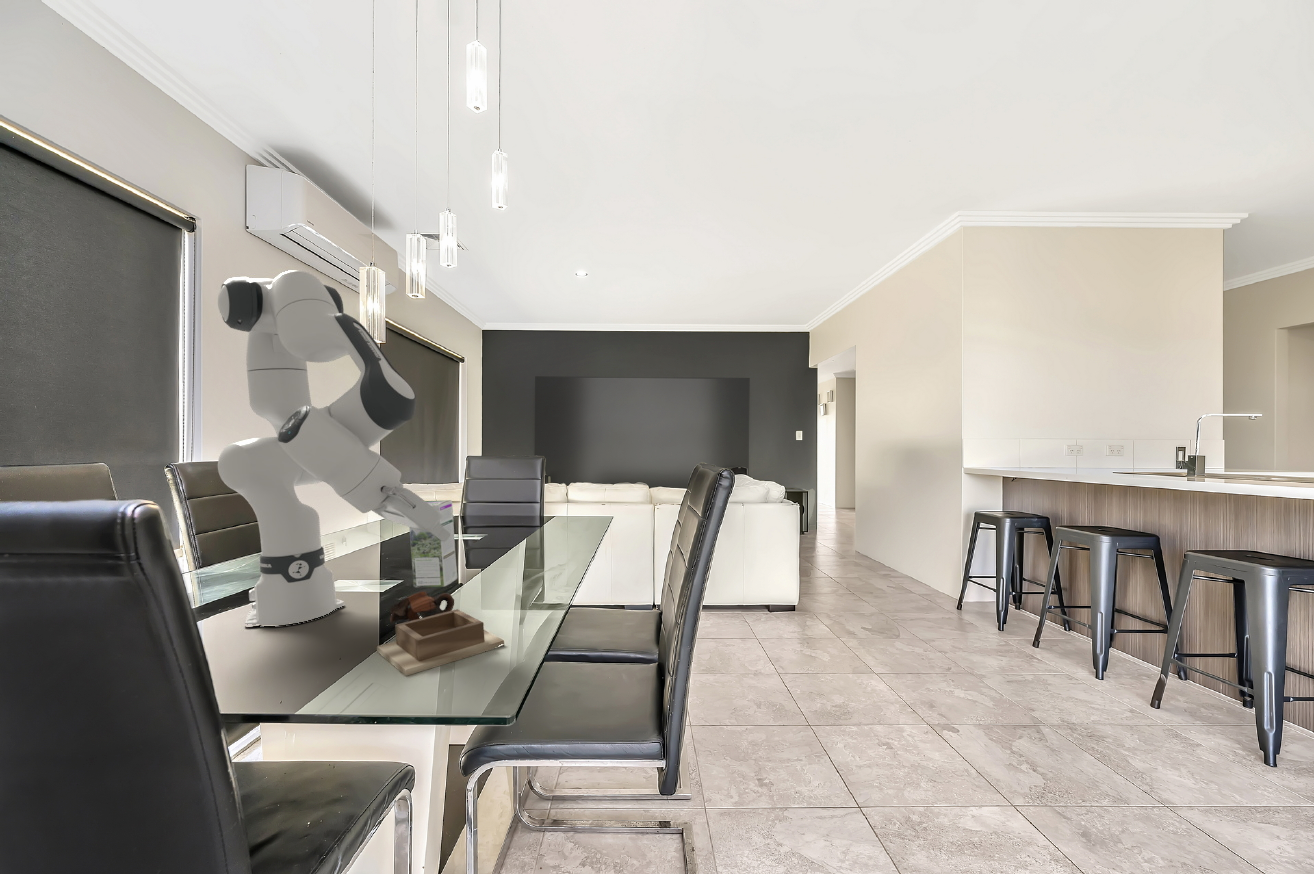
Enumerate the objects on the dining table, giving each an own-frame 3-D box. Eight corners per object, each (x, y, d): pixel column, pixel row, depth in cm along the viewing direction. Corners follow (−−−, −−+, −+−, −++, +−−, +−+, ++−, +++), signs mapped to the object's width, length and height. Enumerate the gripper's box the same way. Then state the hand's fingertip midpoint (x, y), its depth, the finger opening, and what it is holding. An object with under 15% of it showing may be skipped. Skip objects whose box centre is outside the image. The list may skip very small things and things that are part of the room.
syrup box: (458, 578, 111) (453, 498, 110) (444, 587, 105) (438, 503, 104) (428, 579, 111) (422, 500, 111) (412, 588, 105) (406, 504, 105)
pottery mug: (404, 645, 113) (386, 605, 115) (400, 653, 120) (383, 615, 122) (465, 614, 120) (447, 576, 121) (458, 623, 127) (441, 588, 129)
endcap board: (377, 651, 109) (375, 626, 109) (469, 626, 120) (467, 603, 120) (405, 676, 97) (403, 648, 97) (504, 645, 108) (502, 620, 108)
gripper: (408, 473, 95) (472, 526, 102) (369, 469, 111) (427, 515, 117) (379, 506, 92) (447, 558, 99) (344, 497, 108) (404, 542, 115)
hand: (436, 535), depth 108 cm, fingers closed on syrup box, 8 cm apart
